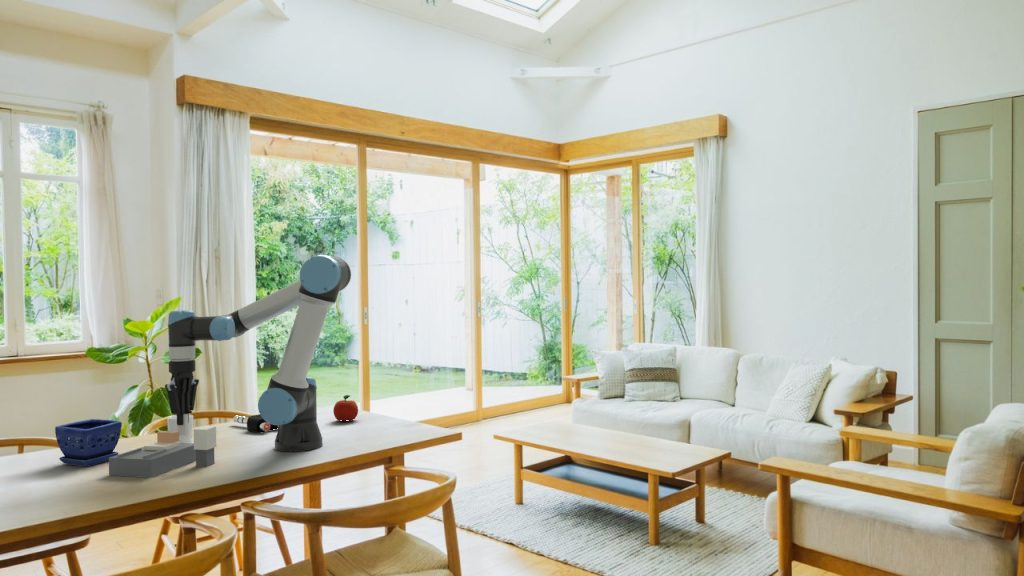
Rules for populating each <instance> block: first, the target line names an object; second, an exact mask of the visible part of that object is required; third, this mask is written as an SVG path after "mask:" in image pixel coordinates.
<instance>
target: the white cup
mask: <svg viewBox="0 0 1024 576" xmlns="http://www.w3.org/2000/svg"><path fill="white" fill-rule="evenodd" d="M166 421H167V422H166V423H167V431H178V425H177V415H174V414H173V415H170V416H168V417H167V418H166ZM193 436H194V415H193V414H189V423H188V435H186V436H181V435H179V441H181V443H193Z"/></svg>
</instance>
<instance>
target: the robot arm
mask: <svg viewBox="0 0 1024 576" xmlns="http://www.w3.org/2000/svg"><path fill="white" fill-rule="evenodd" d="M351 271H352V270H351V267H350V265H349V264H348V263H347V261H345V260H344V259H343V258H341V257H339V256H332V255H328V254H327V255H326V254H316V255H314V256H311V257H309V258H307V259H306V260H305V261H304V262H303V264H302V265H301V267H300V270H299V280H296V281H295V282H292V283H290V284H288V285H287V286H284V287H282V288H280V289H278V290H276V291H274V292H272V293H270V294H267V295H266V296H264V297H262V298H260V299H258V300H255V301H254V302H251V303H249V304H247V305H246V306H243V307H241V308H240V309H238V310H235V311H233V312H231V313H229V314H223V315H213V316H211V315H210V316H196V314H195V311H194V310H193V309H192V310H191V309H190V310H171V311H170V312H169V313H168V319H167V320H168V321H167V328H168V329H167V330H168V332H167V333H168V359H169V360H170V361H169V362H168V373H170V374H171V377H170V382H169V383H168V384H167V383H166V384H165V385H164V388H165V390H166V392H167V397H168V398H167V399H168V402H169V403H168V404H169V408H170V412H171V414H173V416H174V415H177V425H178V431H179V435H181V436H186V435H188V423H189V415H190V414H192V413H193V411H194V409H195V402H196V397H197V389H198V385H199V382H200V380H199V379H198V378H196V379H195V377H194V372H195V371H196V360H195V358H196V341H197V342H198V341H216V342H217V341H218V342H223V341H229V340H232V338H238V337H240V336H242V335H244V334H245V333H246V332H248V331H250V330H251V329H253V328H255V327H258V326H260V325H262V324H264V323H265V322H268V321H270V320H272V319H274V318H276V317H278V316H281V315H283V314H285V313H287V312H289V311H291V310H293V309H295V308H298V309H297V312H296V315H295V318H294V321H293V324H292V327H291V330H290V334H289V337H288V339H287V342H286V343H287V344H286V346H285V349H284V353H283V356H282V359H281V361H280V365H279V368H278V371H277V372H276V373H274V374H272V375H271V376H270V379H269V383H268V386H267V389H266V390H264V391H263V392H262V394H261V395H260V397H259V398H258V403H257V409H258V413H259V414H261V416H262V418H263V419H264V420H265V421H266V422H268V423H270V424H273V425H280V426H279V429H277V432H276V433H277V434H276V436H275V439H274V449H275V450H276V451H280V452H302V451H303V452H304V451H310V450H313V449H318V448H321V447H322V446H323V436H322V433H321V430H320V428H319V425H318V422H317V415H318V414H317V413H318V412H317V410H318V409H317V405H318V404H317V388H318V386H317V381H316V379H315V377H311V376H310V377H309V376H308V373H309V370H310V368H311V367H310V366H311V363H312V361H313V358H314V354H315V351H316V348H317V345H318V342H319V339H320V336H321V332H322V331H323V328H324V327H323V326H324V323H325V320H326V317H327V314H328V311H329V308H330V307H331V306H333V305H335V304H336V302H337V298H338V296H339V293H340V292H341V291H342V290H344V289H346V288H347V287H348V285H349V284H350V282H351V278H352V272H351Z"/></svg>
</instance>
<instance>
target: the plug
mask: <svg viewBox="0 0 1024 576" xmlns="http://www.w3.org/2000/svg"><path fill="white" fill-rule="evenodd" d="M193 443H194V450H196V461H195V467H209V466H211V465H214V464H215V448H216V447H217V426H206V425H205V426H200V427H197V428H193Z"/></svg>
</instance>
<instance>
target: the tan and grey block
mask: <svg viewBox="0 0 1024 576" xmlns="http://www.w3.org/2000/svg"><path fill="white" fill-rule="evenodd" d="M156 435H157V441H155V442H152V443H149V444H145V445H143V447H144V450H157V451H159V450H162V449H166V450H168V449H171V448H174V447H177V446H180V445H181V441H179V431H168V430H160V431H157V433H156Z"/></svg>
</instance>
